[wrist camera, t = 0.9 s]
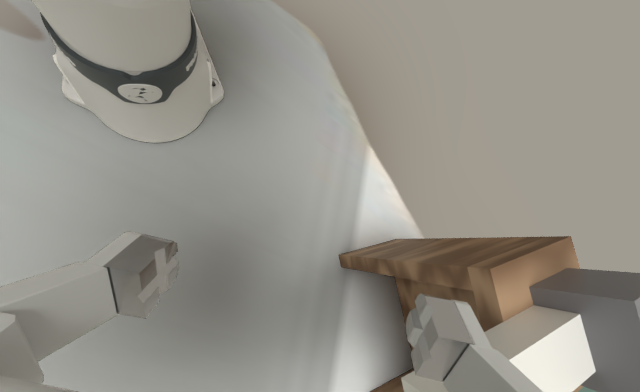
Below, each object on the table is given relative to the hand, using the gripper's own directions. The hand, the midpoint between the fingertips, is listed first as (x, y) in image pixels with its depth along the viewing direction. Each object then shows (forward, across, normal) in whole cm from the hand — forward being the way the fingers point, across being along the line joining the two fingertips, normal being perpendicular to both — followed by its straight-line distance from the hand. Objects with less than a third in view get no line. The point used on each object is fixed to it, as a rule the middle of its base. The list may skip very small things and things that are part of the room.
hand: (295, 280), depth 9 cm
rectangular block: (+8, -17, +10) cm, 21 cm away
